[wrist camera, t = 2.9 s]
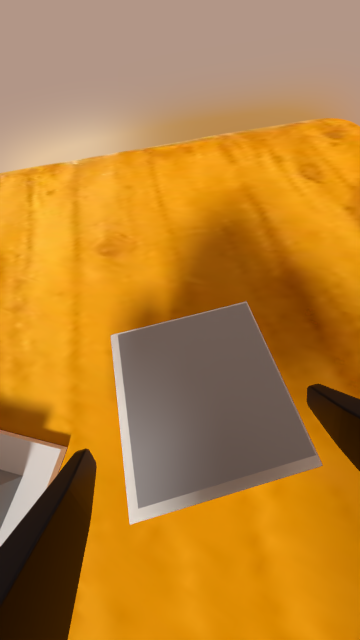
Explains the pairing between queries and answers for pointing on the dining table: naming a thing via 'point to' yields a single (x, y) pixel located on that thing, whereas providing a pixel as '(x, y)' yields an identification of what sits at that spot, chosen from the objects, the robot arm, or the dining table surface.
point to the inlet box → (24, 476)
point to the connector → (203, 412)
